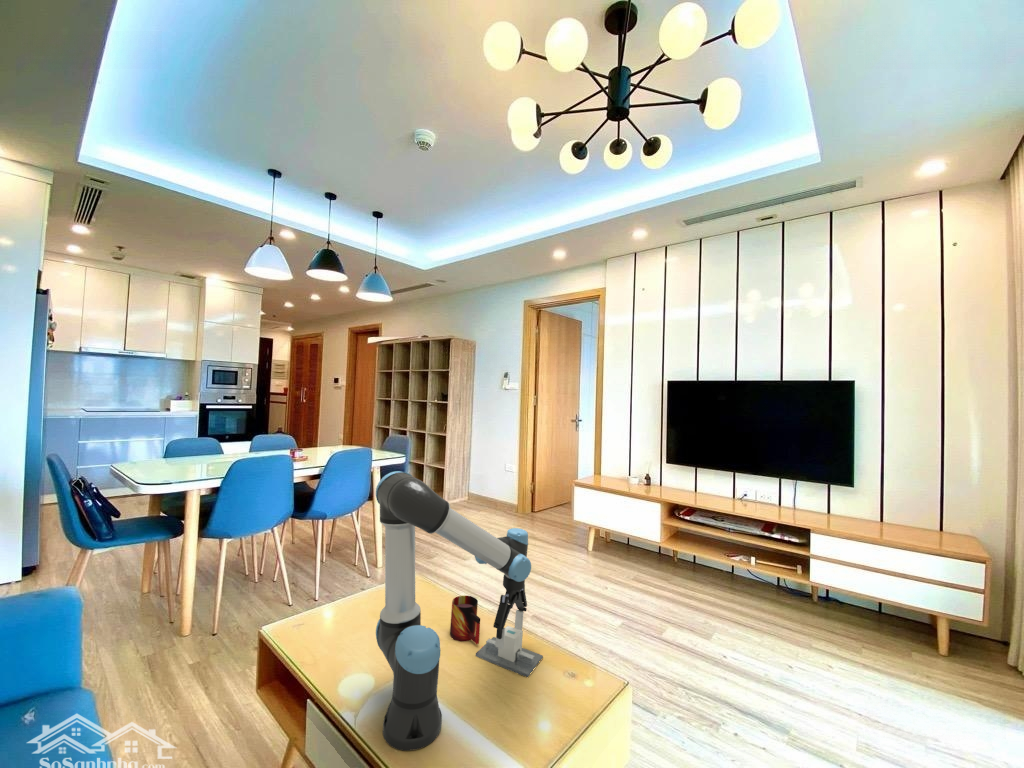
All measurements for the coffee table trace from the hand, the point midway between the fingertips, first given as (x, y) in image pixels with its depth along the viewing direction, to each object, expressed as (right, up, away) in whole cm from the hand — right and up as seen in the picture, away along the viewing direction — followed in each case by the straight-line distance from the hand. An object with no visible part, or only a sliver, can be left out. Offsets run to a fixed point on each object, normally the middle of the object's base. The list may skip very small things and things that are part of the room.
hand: (509, 638), depth 141 cm
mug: (-16, -6, +11) cm, 20 cm away
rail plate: (0, -7, 0) cm, 7 cm away
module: (0, -6, 0) cm, 6 cm away
